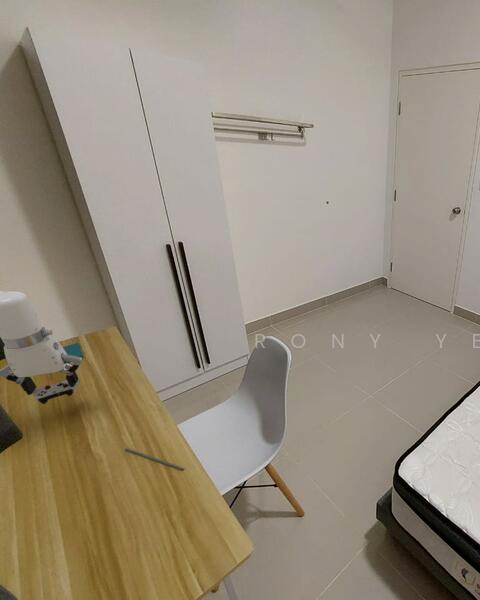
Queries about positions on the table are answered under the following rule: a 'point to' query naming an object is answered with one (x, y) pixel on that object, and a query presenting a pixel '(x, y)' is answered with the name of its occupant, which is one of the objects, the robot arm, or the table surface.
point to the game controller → (54, 391)
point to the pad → (73, 350)
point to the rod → (154, 459)
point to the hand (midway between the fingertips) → (53, 387)
